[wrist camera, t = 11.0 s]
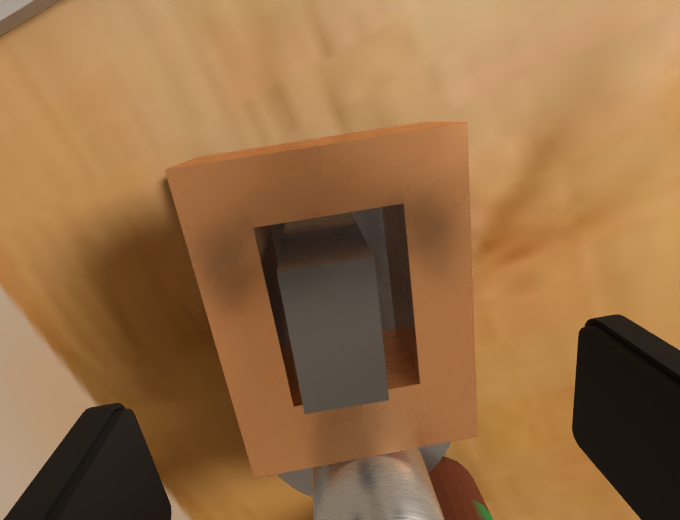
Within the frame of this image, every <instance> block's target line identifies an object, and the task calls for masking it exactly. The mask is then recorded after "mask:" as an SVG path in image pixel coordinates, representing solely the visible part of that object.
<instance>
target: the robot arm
mask: <svg viewBox="0 0 680 520" xmlns="http://www.w3.org/2000/svg"><path fill="white" fill-rule="evenodd" d="M572 431H573V435H574V438H575V440H576V442H577V444H578V445H579V447H580V448H581V449H582V450H583V451H584V453H585V454H586V455H587V456H588V457H589V459H590V460H591V461H592V462H593V463H594V464H595V466H596V467H597V468H598V469H599V470H600V471H601V473H602V474H603V475H604V476H605V477H606V479H607V480H608V481H609V482H610V483H611V484H612V486H613V487H614V488H615V489H616V490H617V491H618V493H619V494H620V495H621V496H622V497H623V499H624V500H625V501H626V502H627V503H628V504H629V506H630V507H631V508H632V509H633V510H634V512H635V513H636V514H637V515H638V516H639V517H640V519H641V520H680V350H678V349H677V348H675V347H673V346H672V345H670V344H668V343H667V342H665V341H663V340H662V339H660V338H659V337H657V336H655V335H654V334H652V333H650V332H649V331H647V330H645V329H644V328H642V327H641V326H639V325H637V324H636V323H634V322H632V321H631V320H629V319H627V318H626V317H624V316H622V315H610V316H604V317H598V318H593V319H590V320H588V321H587V322H586V324H585V327H583V328H581V330H580V331H579V337H578V351H577V366H576V380H575V395H574V409H573V423H572ZM4 520H171V505H170V502H169V499H168V497H167V494H166V492H165V489H164V487H163V484H162V482H161V479H160V477H159V474H158V472H157V469H156V467H155V464H154V462H153V459H152V456H151V454H150V451H149V449H148V446H147V444H146V441H145V439H144V436H143V434H142V431H141V429H140V426H139V424H138V421H137V419H136V416H135V414H134V412H133V411H132V410H131V409H125V407H124V406H123V405H122V404H121V403H114V404H108V405H103V406H97V407H91V408H88V409H86V410H85V411H84V412H83V413H82V415H81V416H80V418H79V419H78V420H77V422H76V423H75V424H74V426H73V427H72V428H71V430H70V431H69V432H68V434H67V435H66V436H65V438H64V439H63V441H62V442H61V443H60V444H59V446H58V447H57V449H56V450H55V451H54V453H53V454H52V455H51V457H50V458H49V459H48V461H47V462H46V463H45V465H44V466H43V467H42V469H41V470H40V471H39V473H38V474H37V475H36V477H35V478H34V479H33V481H32V482H31V483H30V485H29V486H28V487H27V489H26V490H25V492H24V493H23V494H22V496H21V497H20V498H19V500H18V501H17V502H16V504H15V505H14V506H13V508H12V509H11V510H10V512H9V513H8V515H7V516H6V517H5V518H4Z"/></svg>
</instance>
